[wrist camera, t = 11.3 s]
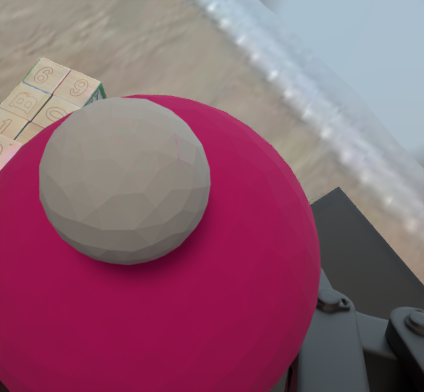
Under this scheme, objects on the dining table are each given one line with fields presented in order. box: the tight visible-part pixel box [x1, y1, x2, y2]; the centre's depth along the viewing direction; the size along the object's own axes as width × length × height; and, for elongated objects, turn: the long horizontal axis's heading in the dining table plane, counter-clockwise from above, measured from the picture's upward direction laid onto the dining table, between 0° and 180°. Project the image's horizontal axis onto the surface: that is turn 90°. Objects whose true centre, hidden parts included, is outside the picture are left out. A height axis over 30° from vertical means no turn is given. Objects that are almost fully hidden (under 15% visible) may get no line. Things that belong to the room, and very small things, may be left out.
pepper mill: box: [0, 95, 321, 392], centre depth 12 cm, size 7×7×20 cm
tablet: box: [269, 187, 424, 392], centre depth 34 cm, size 22×16×1 cm
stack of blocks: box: [0, 57, 107, 170], centre depth 32 cm, size 21×6×12 cm, turn 154°
